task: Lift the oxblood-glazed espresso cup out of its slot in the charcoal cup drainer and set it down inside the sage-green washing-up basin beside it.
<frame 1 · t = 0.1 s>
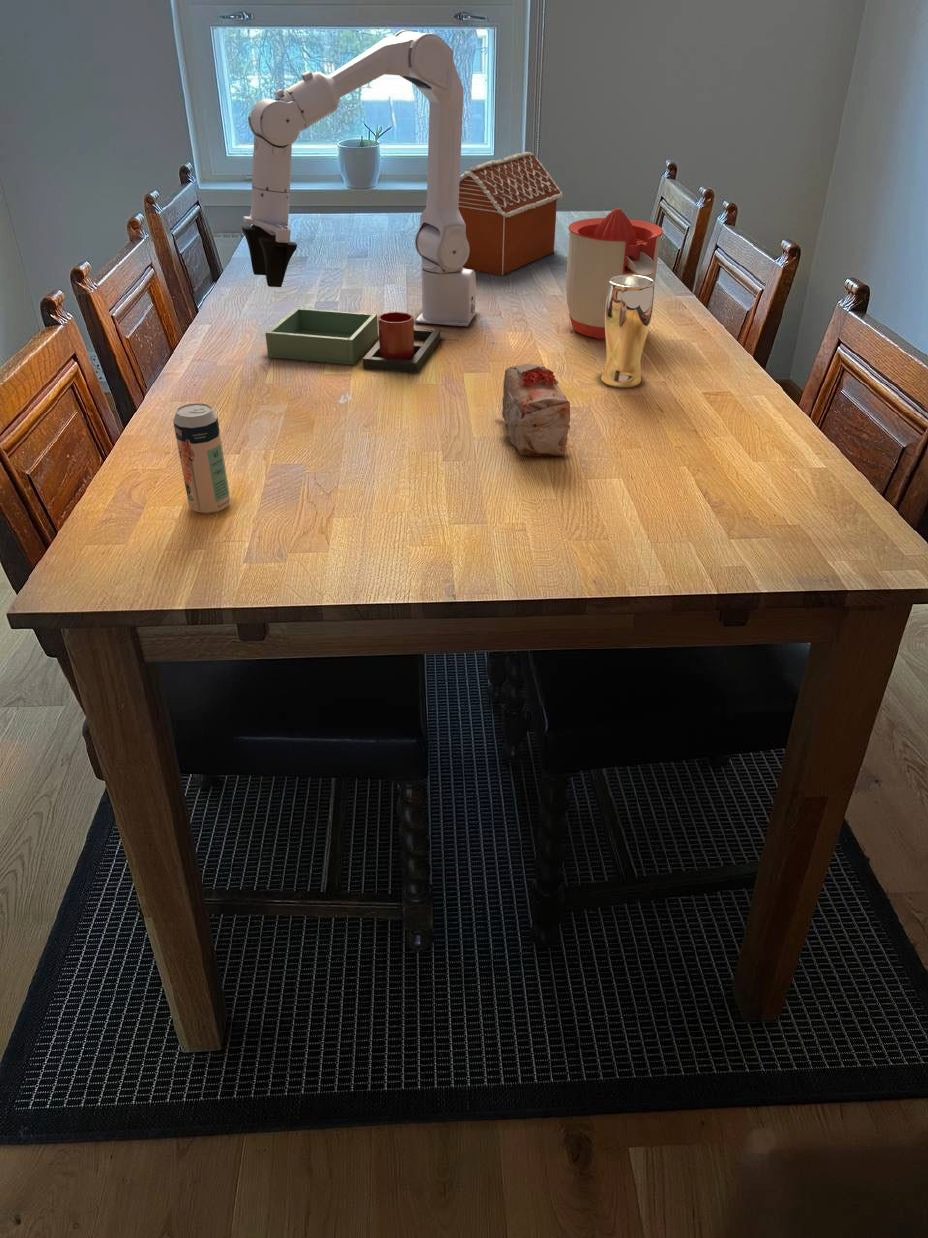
hand: (267, 280, 147), 11 cm above the table, tool pointing down, fingers open, 7 cm apart
gingerbread house: (498, 258, 200), on the table
beer can: (210, 507, 108), on the table
basin: (324, 346, 153), on the table
citrus juicer: (608, 332, 161), on the table
food item: (531, 441, 123), on the table
cup: (397, 360, 148), resting in drainer
beer glass: (620, 381, 142), on the table
drainer: (403, 352, 151), on the table
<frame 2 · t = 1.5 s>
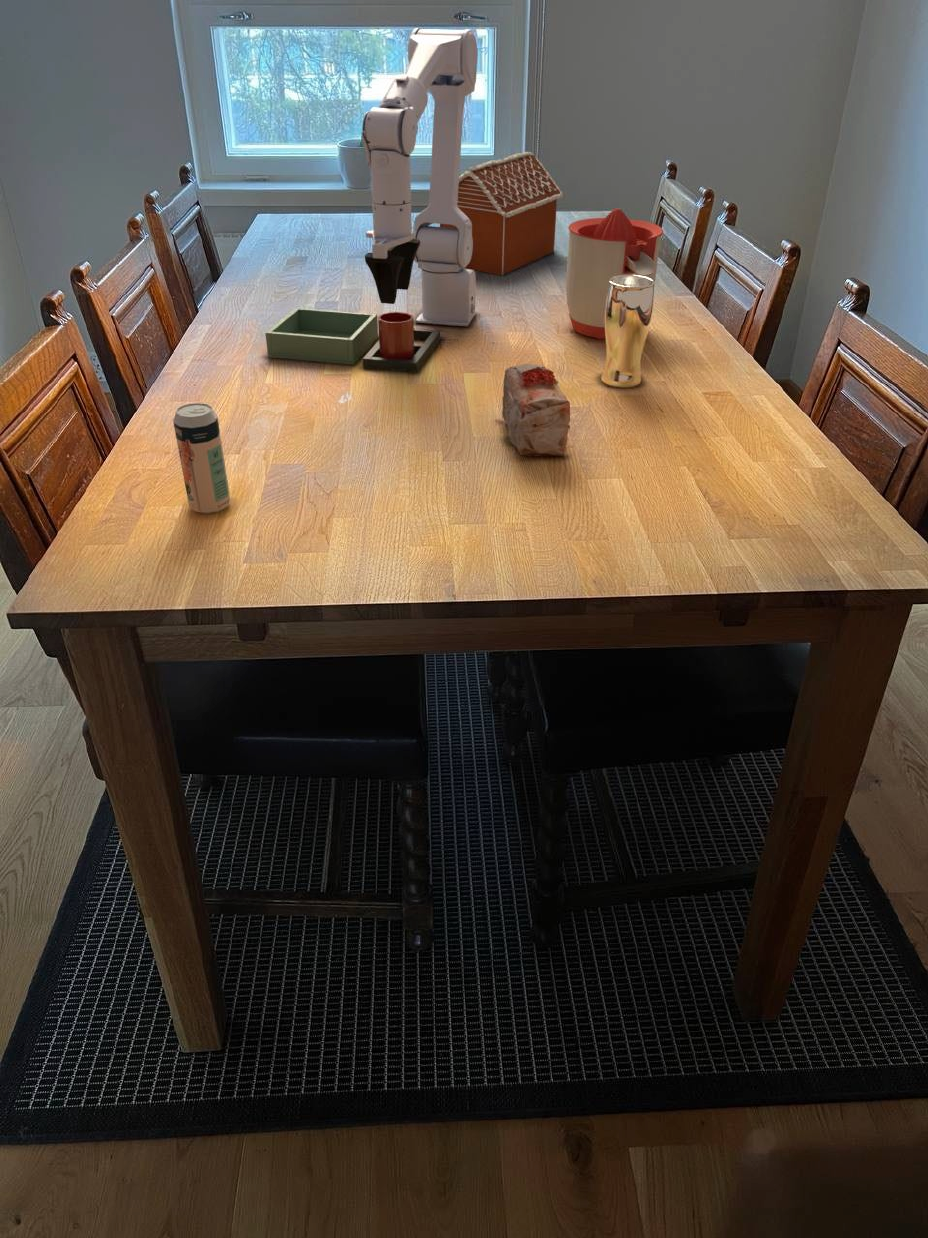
hand: (394, 295, 142), 10 cm above the table, tool pointing down, fingers open, 7 cm apart
nothing on the table moved.
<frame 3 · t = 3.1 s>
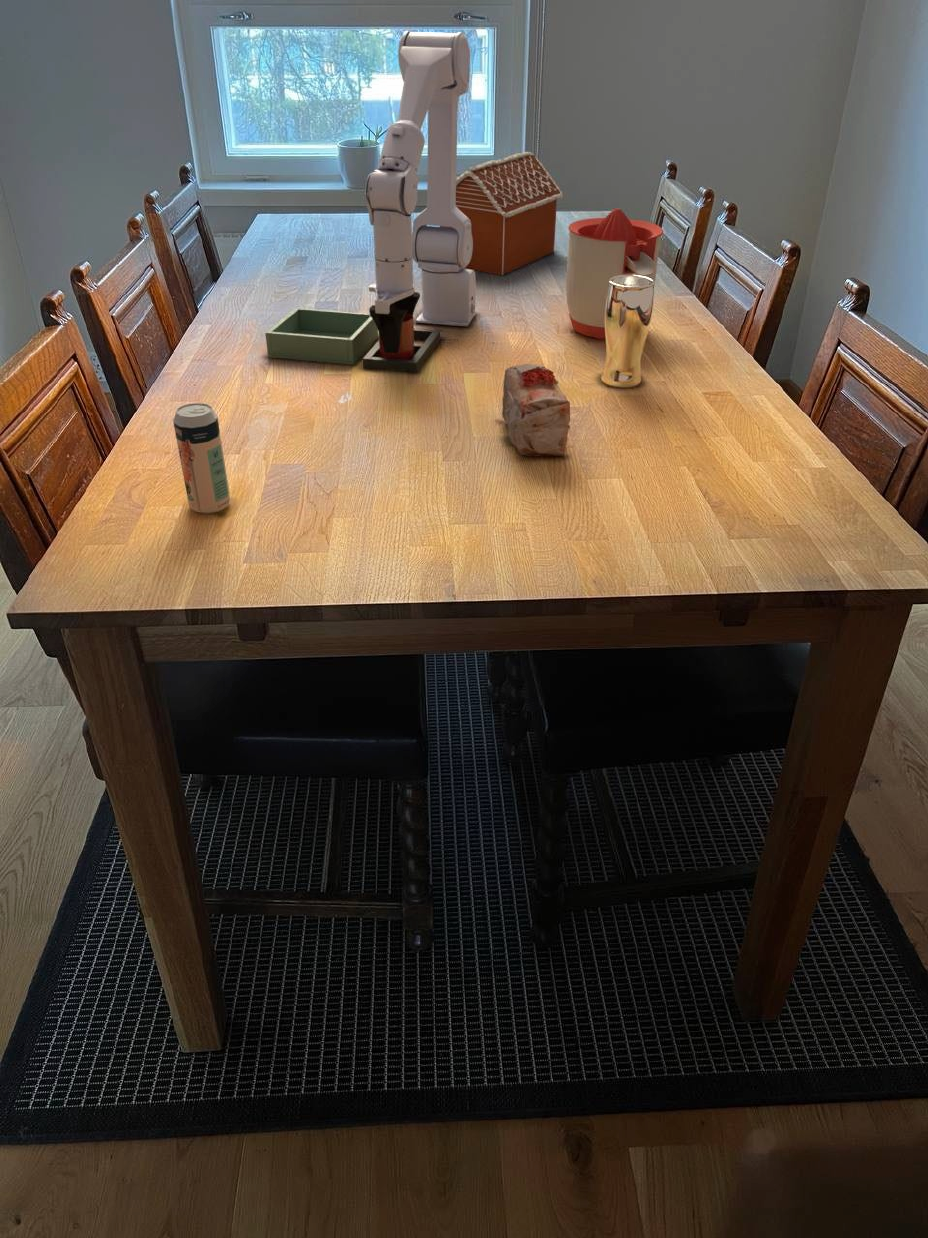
hand: (396, 345, 146), 2 cm above the table, tool pointing down, fingers closed on cup, 5 cm apart
cup: (397, 360, 148), resting in drainer, touching gripper
everything else where it was.
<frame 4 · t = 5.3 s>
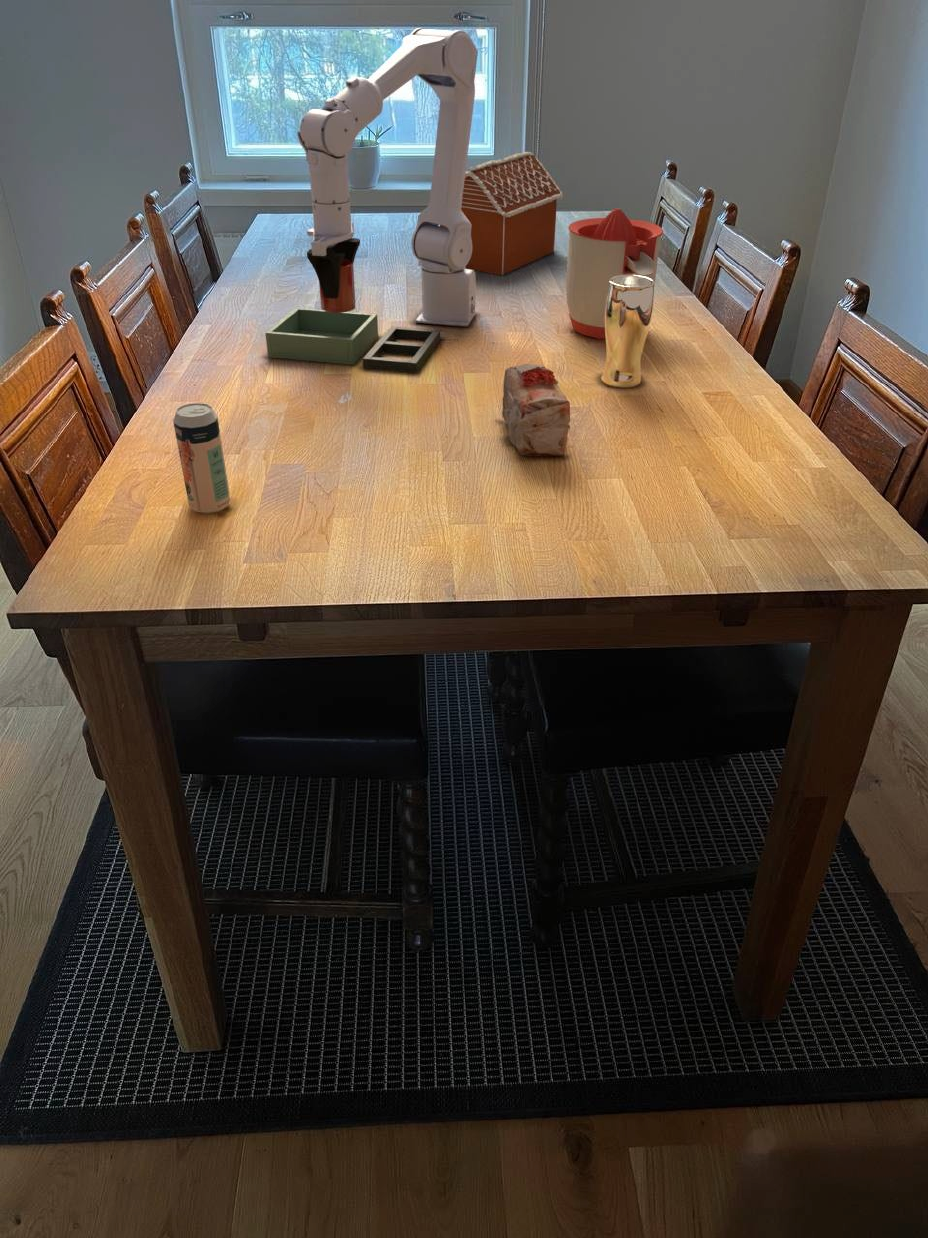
hand: (337, 292, 146), 9 cm above the table, tool pointing down, fingers closed on cup, 5 cm apart
cup: (338, 307, 147), point 7 cm above the table, touching gripper
everything else where it was.
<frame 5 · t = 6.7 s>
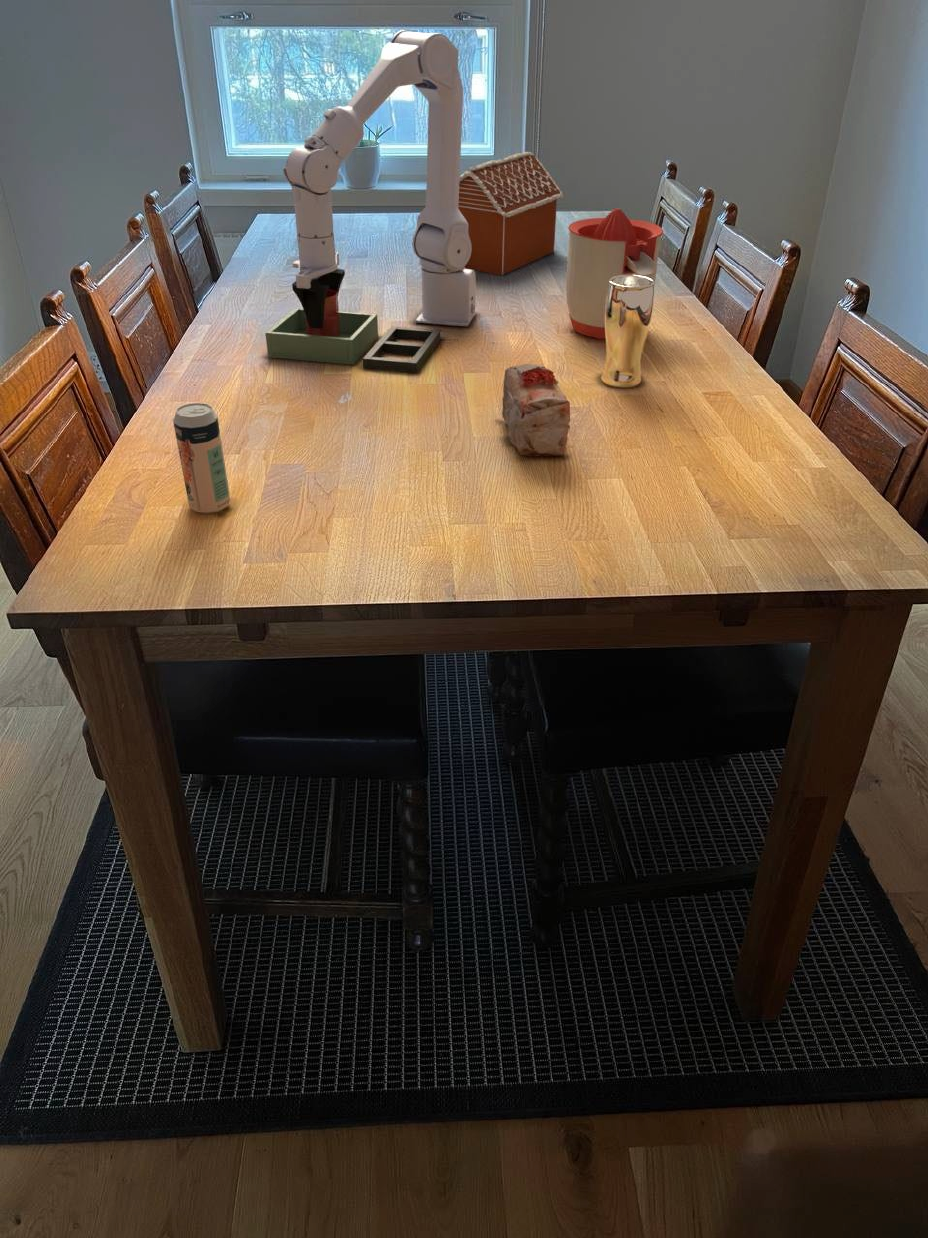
hand: (322, 321, 150), 4 cm above the table, tool pointing down, fingers closed on cup, 5 cm apart
cup: (323, 336, 152), point 2 cm above the table, touching gripper
everything else where it was.
when the fingers open (3 cm above the table, at t = 7.7 s): cup stays where it is, resting on basin.
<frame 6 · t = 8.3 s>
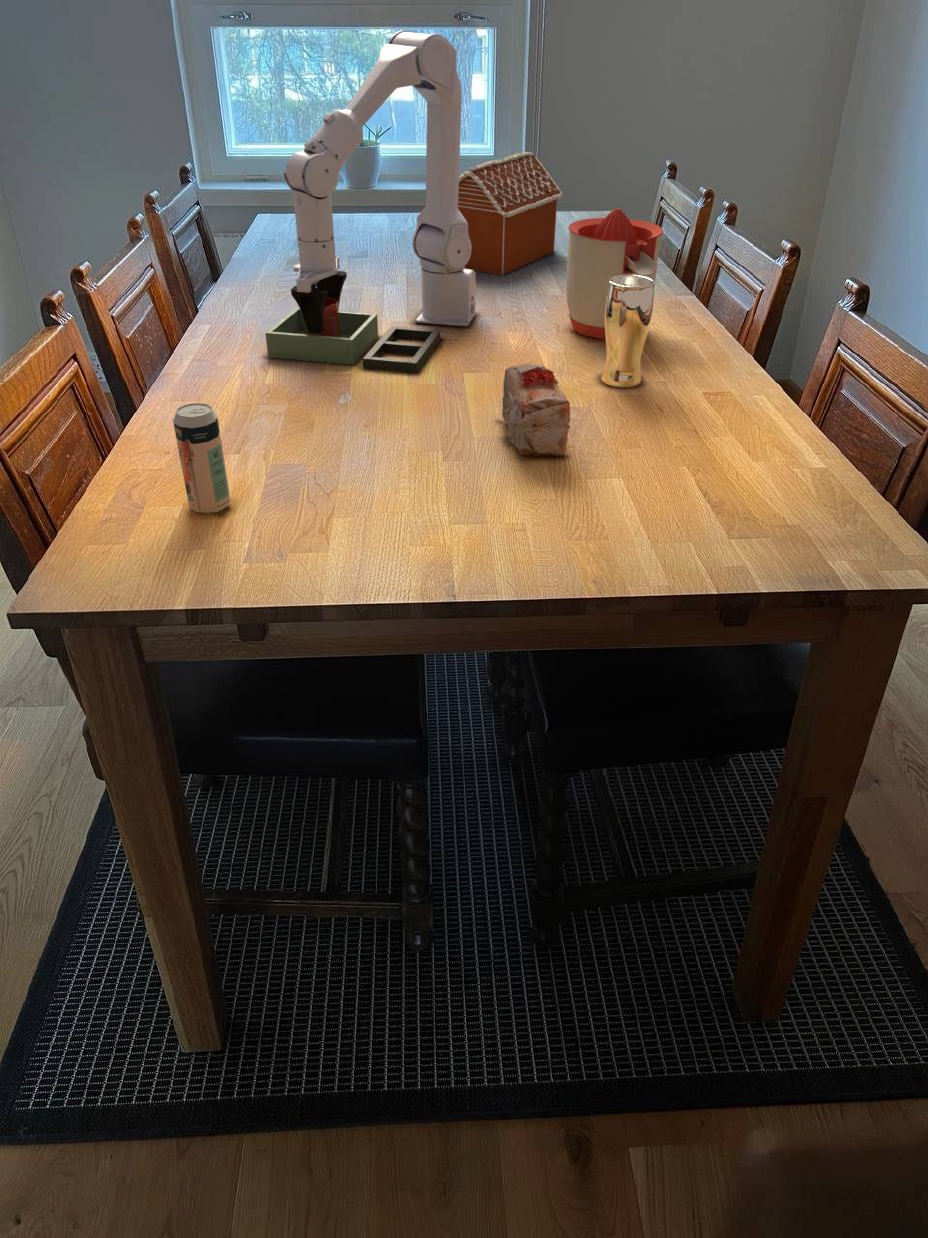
hand: (323, 324, 151), 4 cm above the table, tool pointing down, fingers open, 7 cm apart
cup: (324, 344, 152), resting on basin
everything else where it was.
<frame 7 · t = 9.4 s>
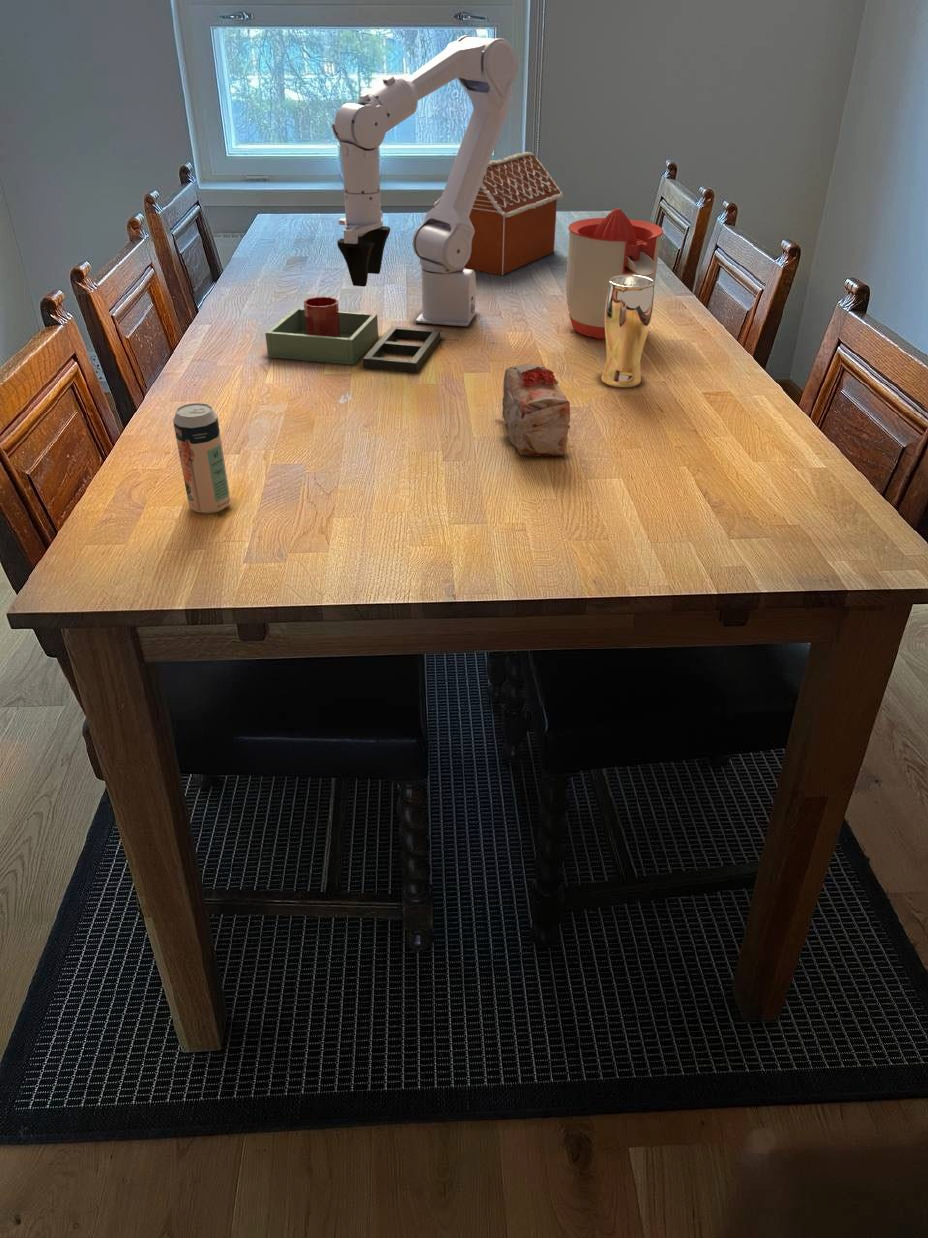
hand: (366, 279, 152), 9 cm above the table, tool pointing down, fingers open, 7 cm apart
nothing on the table moved.
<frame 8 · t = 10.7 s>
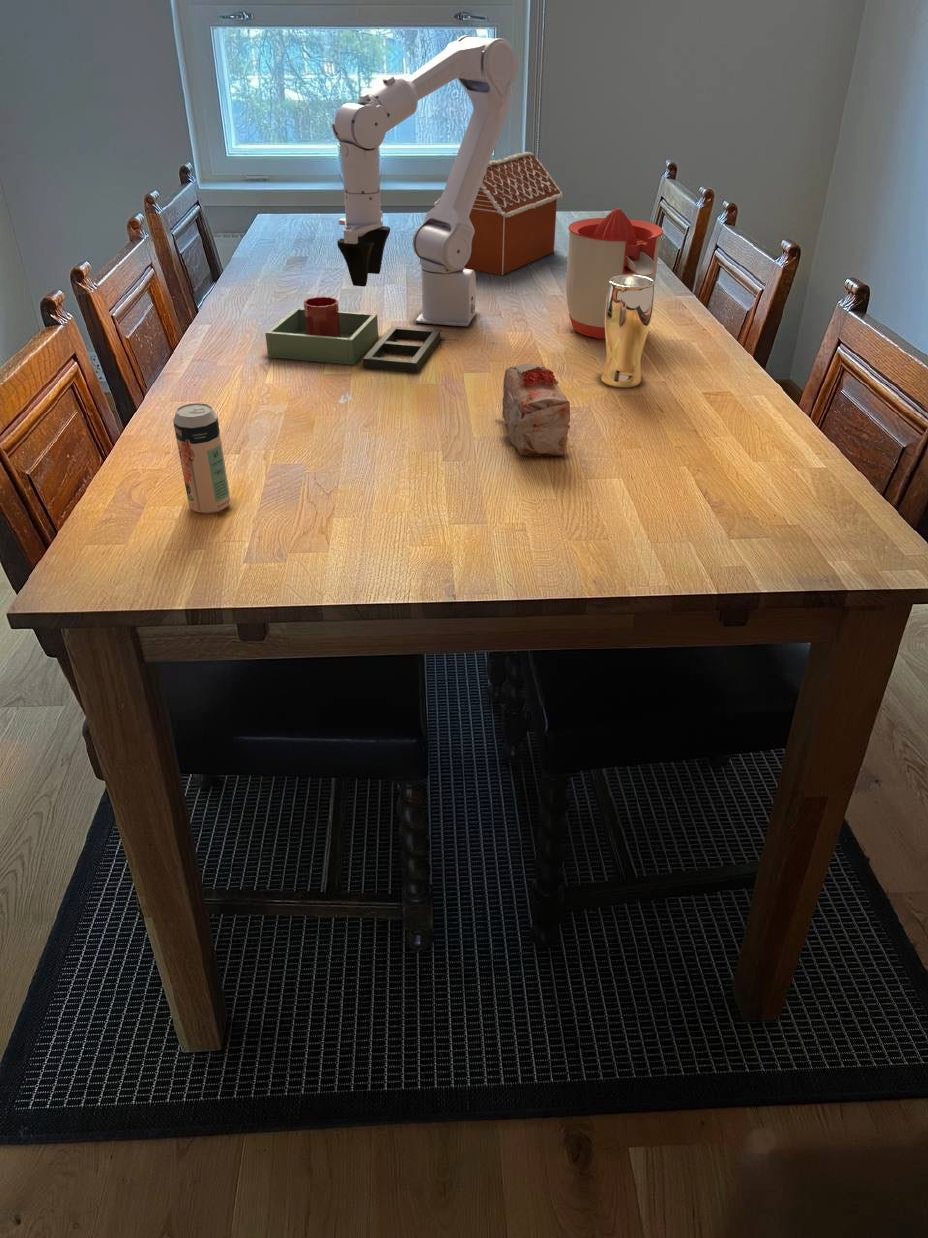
hand: (366, 279, 152), 9 cm above the table, tool pointing down, fingers open, 7 cm apart
nothing on the table moved.
at the end: cup inside the target area in the basin (0.1 cm from its centre), point 0.5 cm above the basin's base; cup tilted 0°; the gripper is holding nothing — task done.
